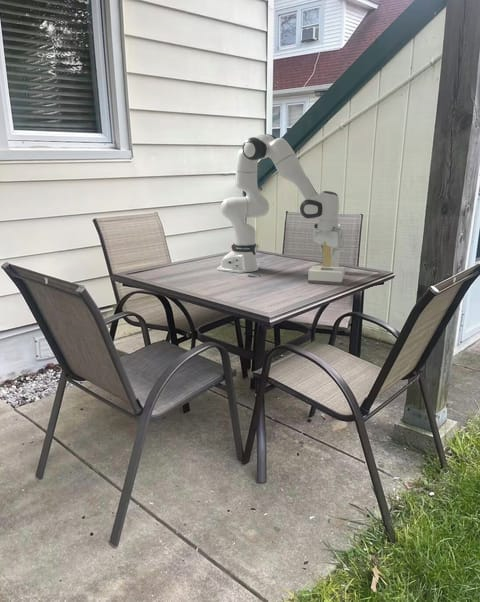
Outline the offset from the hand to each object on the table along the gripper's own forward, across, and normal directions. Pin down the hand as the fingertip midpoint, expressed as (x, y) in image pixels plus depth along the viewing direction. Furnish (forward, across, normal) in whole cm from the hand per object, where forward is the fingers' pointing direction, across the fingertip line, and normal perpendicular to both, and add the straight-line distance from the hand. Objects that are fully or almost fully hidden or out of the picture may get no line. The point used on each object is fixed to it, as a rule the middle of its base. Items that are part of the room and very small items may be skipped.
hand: (327, 254), depth 232 cm
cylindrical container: (+13, +15, -14) cm, 24 cm away
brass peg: (+6, 0, 0) cm, 6 cm away
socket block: (+13, 0, 0) cm, 13 cm away
